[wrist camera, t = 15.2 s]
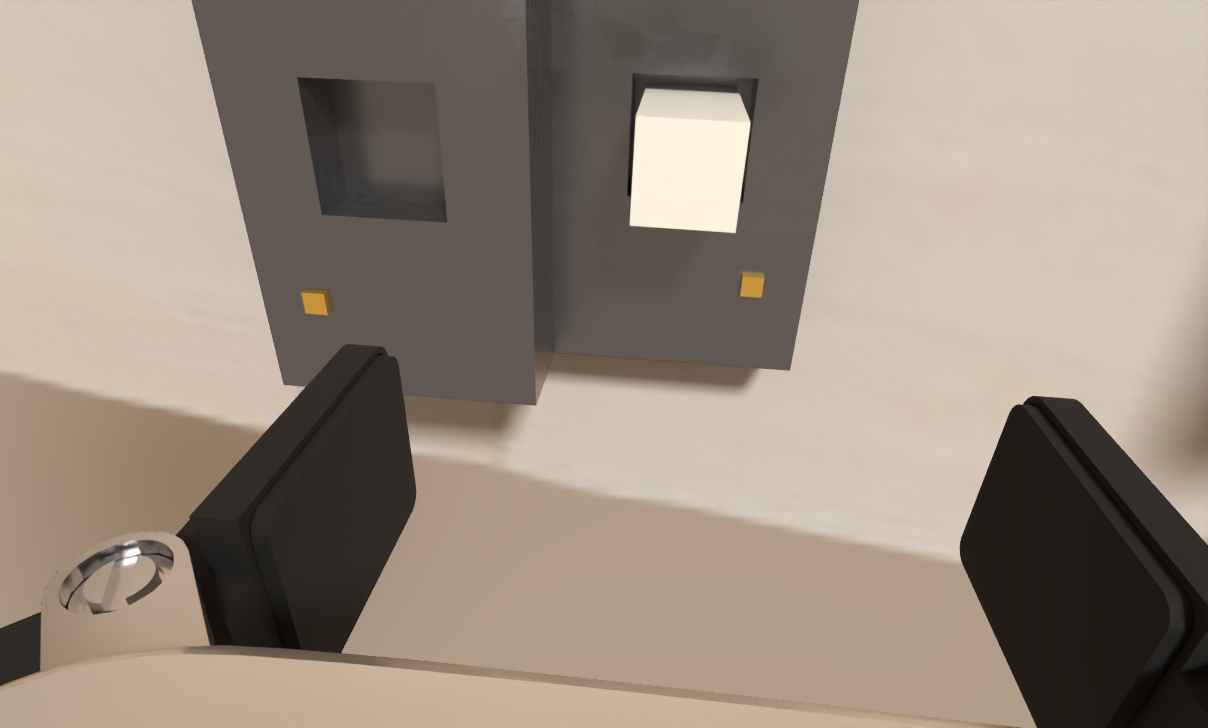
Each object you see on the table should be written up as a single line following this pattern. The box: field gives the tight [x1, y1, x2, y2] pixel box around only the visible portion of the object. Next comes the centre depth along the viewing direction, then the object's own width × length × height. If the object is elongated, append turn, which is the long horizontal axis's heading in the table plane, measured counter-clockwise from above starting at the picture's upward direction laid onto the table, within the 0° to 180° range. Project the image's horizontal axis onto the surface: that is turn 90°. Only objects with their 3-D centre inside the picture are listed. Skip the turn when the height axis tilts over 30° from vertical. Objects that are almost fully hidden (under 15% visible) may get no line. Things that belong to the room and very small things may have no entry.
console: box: [192, 0, 859, 405], centre depth 30 cm, size 22×24×9 cm
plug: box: [630, 83, 751, 233], centre depth 29 cm, size 4×4×8 cm
